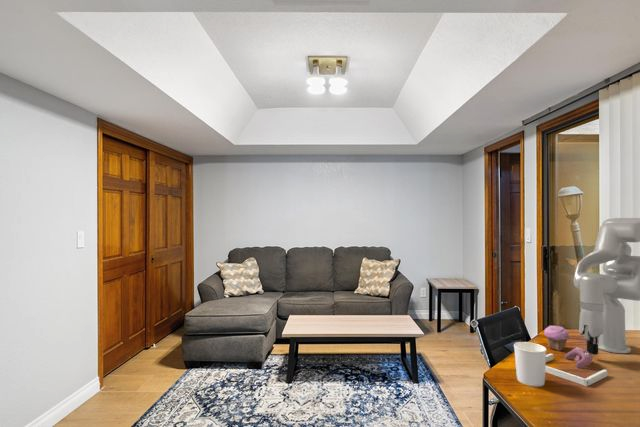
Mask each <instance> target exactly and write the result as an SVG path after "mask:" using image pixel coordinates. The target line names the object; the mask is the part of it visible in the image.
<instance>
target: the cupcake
mask: <svg viewBox="0 0 640 427" xmlns="http://www.w3.org/2000/svg"><path fill="white" fill-rule="evenodd" d="M543 334H544V336H545V337H546V339H547V347H548V348H550V349H551V350H556V351H557V352H561V351H562V350H564V348H565V347H566V344H567V341H568V340H569V339H570V334H569V332H568V331H567V329H565V327H563V326H559V325H548V326H547V327H546V328H544V332H543Z"/></svg>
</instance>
